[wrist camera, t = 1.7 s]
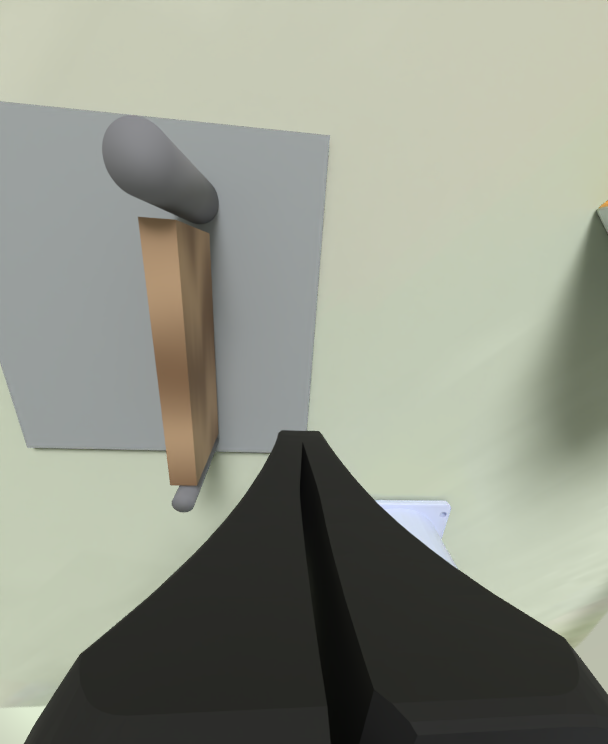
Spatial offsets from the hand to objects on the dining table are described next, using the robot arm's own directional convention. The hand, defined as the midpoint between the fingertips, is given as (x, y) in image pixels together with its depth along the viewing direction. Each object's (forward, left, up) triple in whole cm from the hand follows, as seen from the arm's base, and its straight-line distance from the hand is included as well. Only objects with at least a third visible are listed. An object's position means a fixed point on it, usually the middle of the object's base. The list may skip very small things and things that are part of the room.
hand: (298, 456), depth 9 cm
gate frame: (+3, +8, -8) cm, 11 cm away
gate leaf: (+2, +5, -7) cm, 9 cm away
